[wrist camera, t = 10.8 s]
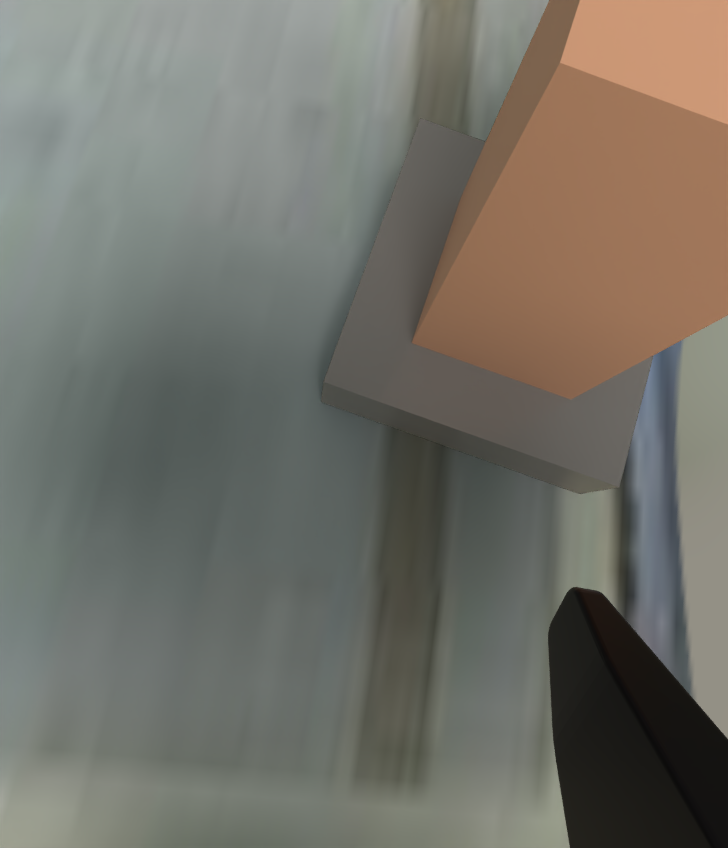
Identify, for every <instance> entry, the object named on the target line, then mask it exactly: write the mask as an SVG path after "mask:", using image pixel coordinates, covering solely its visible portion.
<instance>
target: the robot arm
mask: <svg viewBox="0 0 728 848" xmlns="http://www.w3.org/2000/svg"><path fill="white" fill-rule="evenodd" d="M548 647H549V668H550V688H551V708H552V727H553V741H554V749H555V756H556V763H557V770H558V776H559V782H560V788H561V795H562V801H563V807H564V813H565V820H566V826H567V832H568V838H569V845H570V848H728V739H727V738H726V737H725V735H724V734H723V733H722V732H721V731H720V730H719V728H718V727H717V726H716V725H715V724H714V723H713V721H712V720H711V719H710V718H709V717H708V716H707V714H706V713H705V712H704V711H703V710H702V709H701V707H700V706H699V705H698V704H697V703H696V702H695V700H694V699H693V698H692V697H691V696H690V695H689V693H688V692H687V691H686V690H685V689H684V688H683V686H682V685H681V684H680V683H679V682H678V681H677V679H676V678H675V677H674V676H673V675H672V674H671V672H670V671H669V670H668V669H667V668H666V667H665V665H664V664H663V663H662V662H661V661H660V660H659V658H658V657H657V656H656V655H655V654H654V653H653V651H652V650H651V649H650V648H649V647H648V646H647V644H646V643H645V642H644V641H643V640H642V639H641V637H640V636H639V635H638V634H637V633H636V632H635V630H634V629H633V628H632V627H631V626H630V625H629V624H628V622H627V621H626V620H625V619H624V618H623V617H622V615H621V614H620V613H619V612H618V611H617V610H616V608H615V607H614V606H613V605H612V604H611V603H610V601H609V600H608V599H607V598H606V597H605V596H604V595H603V594H602V593H601V592H599V591H595V590H590V589H584V588H579V587H573V588H571V589H570V590H569V591H568V592H567V594H566V595H565V597H564V599H563V601H562V603H561V605H560V607H559V608H558V610H557V612H556V614H555V616H554V618H553V620H552V622H551V624H550V627H549V632H548Z"/></svg>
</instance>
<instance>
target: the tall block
mask: <svg viewBox="0 0 728 848" xmlns="http://www.w3.org/2000/svg"><path fill="white" fill-rule="evenodd" d="M727 315H728V0H549V2H548V4H547V7H546V9H545V11H544V13H543V16H542V18H541V20H540V22H539V24H538V27H537V29H536V31H535V33H534V36H533V38H532V40H531V42H530V44H529V47H528V49H527V51H526V53H525V56H524V58H523V60H522V62H521V65H520V67H519V69H518V71H517V73H516V76H515V78H514V80H513V82H512V85H511V87H510V89H509V91H508V93H507V96H506V98H505V100H504V102H503V105H502V107H501V109H500V111H499V114H498V116H497V118H496V120H495V122H494V125H493V127H492V129H491V131H490V134H489V136H488V138H487V140H486V142H485V145H484V147H483V149H482V151H481V154H480V156H479V158H478V160H477V162H476V165H475V167H474V169H473V171H472V174H471V176H470V178H469V180H468V183H467V185H466V187H465V189H464V191H463V194H462V196H461V199H460V201H459V204H458V207H457V210H456V213H455V216H454V219H453V222H452V225H451V228H450V231H449V234H448V237H447V240H446V243H445V246H444V249H443V252H442V255H441V257H440V260H439V263H438V266H437V269H436V272H435V275H434V278H433V281H432V284H431V287H430V290H429V293H428V296H427V299H426V302H425V305H424V308H423V311H422V313H421V316H420V319H419V322H418V325H417V328H416V331H415V334H414V337H413V340H412V343H413V344H416V345H419V346H421V347H424V348H427V349H430V350H433V351H435V352H438V353H441V354H444V355H447V356H449V357H452V358H455V359H458V360H461V361H464V362H466V363H469V364H472V365H475V366H478V367H480V368H483V369H486V370H489V371H492V372H495V373H497V374H500V375H503V376H506V377H509V378H511V379H514V380H517V381H520V382H523V383H526V384H528V385H531V386H534V387H537V388H540V389H542V390H545V391H548V392H551V393H554V394H557V395H559V396H562V397H565V398H568V399H573V398H575V397H577V396H579V395H580V394H582V393H584V392H586V391H588V390H590V389H592V388H593V387H595V386H597V385H599V384H601V383H603V382H605V381H606V380H608V379H610V378H612V377H614V376H616V375H618V374H619V373H621V372H623V371H625V370H627V369H629V368H631V367H632V366H634V365H636V364H638V363H640V362H642V361H644V360H645V359H647V358H649V357H651V356H653V355H655V354H657V353H658V352H660V351H662V350H664V349H666V348H668V347H670V346H671V345H673V344H675V343H677V342H679V341H681V340H683V339H684V338H686V337H688V336H690V335H692V334H694V333H696V332H697V331H699V330H701V329H703V328H705V327H707V326H709V325H710V324H712V323H714V322H716V321H718V320H720V319H722V318H723V317H725V316H727Z"/></svg>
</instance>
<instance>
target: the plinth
mask: <svg viewBox="0 0 728 848" xmlns="http://www.w3.org/2000/svg"><path fill="white" fill-rule="evenodd" d="M484 145H485V141H482V140H479V139H477V138H474V137H471V136H469V135H466V134H463V133H460V132H458V131H455V130H452V129H449V128H447V127H444V126H441V125H439V124H436V123H433V122H430V121H428V120H425V119H422V118H420V120H419V123H418V126H417V128H416V131H415V134H414V136H413V139H412V142H411V145H410V147H409V150H408V153H407V155H406V158H405V161H404V164H403V166H402V169H401V172H400V175H399V177H398V180H397V183H396V185H395V188H394V191H393V194H392V196H391V199H390V202H389V204H388V207H387V210H386V213H385V215H384V218H383V221H382V223H381V226H380V229H379V232H378V234H377V237H376V240H375V242H374V245H373V248H372V251H371V253H370V256H369V259H368V261H367V264H366V267H365V270H364V272H363V275H362V278H361V281H360V283H359V286H358V289H357V291H356V294H355V297H354V300H353V302H352V305H351V308H350V310H349V313H348V316H347V319H346V321H345V324H344V327H343V329H342V332H341V335H340V338H339V340H338V343H337V346H336V348H335V351H334V354H333V357H332V359H331V362H330V365H329V367H328V370H327V373H326V376H325V378H324V381H323V388H322V398H321V402H322V403H325V404H328V405H331V406H334V407H336V408H339V409H342V410H345V411H348V412H351V413H353V414H356V415H359V416H362V417H365V418H367V419H370V420H373V421H376V422H379V423H381V424H384V425H387V426H390V427H393V428H396V429H398V430H401V431H404V432H407V433H410V434H412V435H415V436H418V437H421V438H424V439H427V440H429V441H432V442H435V443H438V444H441V445H443V446H446V447H449V448H452V449H455V450H458V451H460V452H463V453H466V454H469V455H472V456H474V457H477V458H480V459H483V460H486V461H489V462H491V463H494V464H497V465H500V466H503V467H505V468H508V469H511V470H514V471H517V472H520V473H522V474H525V475H528V476H531V477H534V478H536V479H539V480H542V481H545V482H548V483H551V484H553V485H556V486H559V487H562V488H565V489H567V490H570V491H573V492H576V493H579V494H583V493H589V492H595V491H600V490H606V489H612V488H618V487H619V486H620V482H621V478H622V475H623V471H624V467H625V463H626V459H627V455H628V451H629V448H630V444H631V440H632V436H633V432H634V428H635V425H636V421H637V417H638V413H639V409H640V405H641V402H642V398H643V394H644V390H645V386H646V382H647V378H648V375H649V371H650V367H651V363H652V359H653V356H651V357H649V358H647V359H645V360H644V361H642V362H640V363H638V364H636V365H634V366H632V367H631V368H629V369H627V370H625V371H623V372H621V373H619V374H618V375H616V376H614V377H612V378H610V379H608V380H606V381H605V382H603V383H601V384H599V385H597V386H595V387H593V388H592V389H590V390H588V391H586V392H584V393H582V394H580V395H579V396H577V397H575V398H573V399H568V398H565V397H562V396H559V395H557V394H554V393H551V392H548V391H545V390H542V389H540V388H537V387H534V386H531V385H528V384H526V383H523V382H520V381H517V380H514V379H511V378H509V377H506V376H503V375H500V374H497V373H495V372H492V371H489V370H486V369H483V368H480V367H478V366H475V365H472V364H469V363H466V362H464V361H461V360H458V359H455V358H452V357H449V356H447V355H444V354H441V353H438V352H435V351H433V350H430V349H427V348H424V347H421V346H419V345H416V344H413V343H412V340H413V337H414V334H415V331H416V328H417V325H418V322H419V319H420V316H421V313H422V311H423V308H424V305H425V302H426V299H427V296H428V293H429V290H430V287H431V284H432V281H433V278H434V275H435V272H436V269H437V266H438V263H439V260H440V257H441V255H442V252H443V249H444V246H445V243H446V240H447V237H448V234H449V231H450V228H451V225H452V222H453V219H454V216H455V213H456V210H457V207H458V204H459V201H460V199H461V196H462V194H463V191H464V189H465V187H466V185H467V183H468V180H469V178H470V176H471V174H472V171H473V169H474V167H475V165H476V162H477V160H478V158H479V156H480V154H481V151H482V149H483V147H484Z"/></svg>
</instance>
